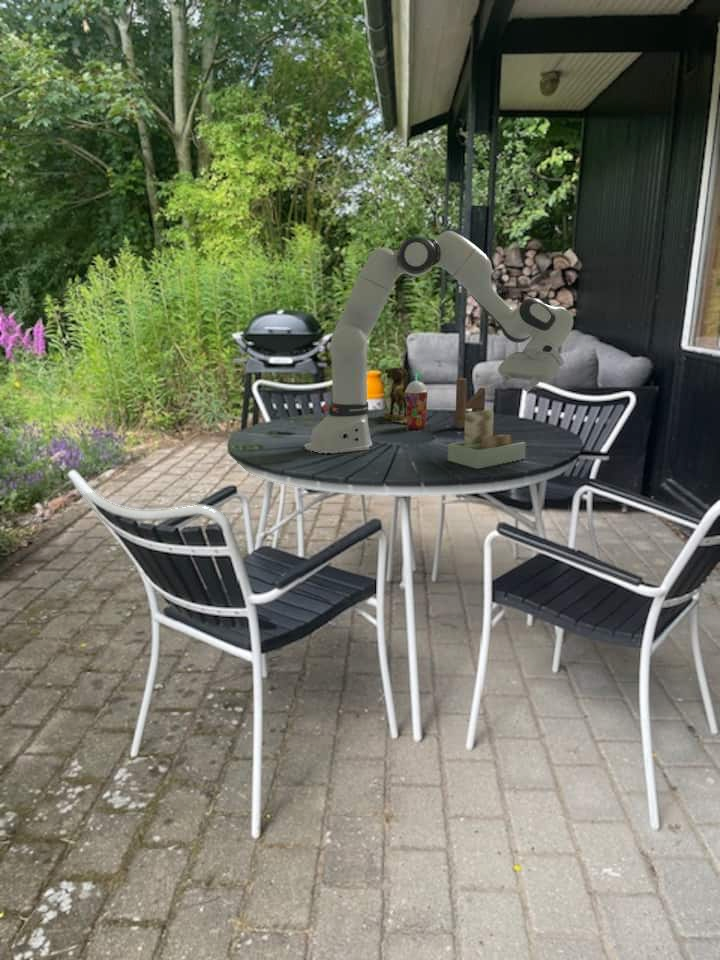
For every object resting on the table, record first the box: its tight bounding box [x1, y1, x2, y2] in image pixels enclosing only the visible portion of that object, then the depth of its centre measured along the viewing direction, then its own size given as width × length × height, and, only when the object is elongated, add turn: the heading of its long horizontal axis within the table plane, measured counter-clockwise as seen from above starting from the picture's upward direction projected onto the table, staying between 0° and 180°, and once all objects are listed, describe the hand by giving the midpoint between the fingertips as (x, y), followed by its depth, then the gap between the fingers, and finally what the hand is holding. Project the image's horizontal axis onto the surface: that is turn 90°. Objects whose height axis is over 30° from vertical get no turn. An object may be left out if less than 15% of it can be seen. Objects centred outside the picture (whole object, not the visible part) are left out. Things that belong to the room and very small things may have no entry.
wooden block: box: [453, 377, 486, 430], centre depth 255 cm, size 4×11×18 cm, turn 109°
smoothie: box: [405, 372, 429, 430], centre depth 255 cm, size 8×8×20 cm
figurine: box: [379, 367, 409, 426], centre depth 274 cm, size 13×25×20 cm, turn 9°
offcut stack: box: [482, 434, 512, 449], centre depth 204 cm, size 10×4×8 cm, turn 124°
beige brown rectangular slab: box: [463, 409, 495, 447], centre depth 207 cm, size 9×3×14 cm, turn 124°
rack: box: [447, 441, 527, 470], centre depth 206 cm, size 19×13×5 cm, turn 124°
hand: (514, 388), depth 212 cm, fingers open, 8 cm apart
